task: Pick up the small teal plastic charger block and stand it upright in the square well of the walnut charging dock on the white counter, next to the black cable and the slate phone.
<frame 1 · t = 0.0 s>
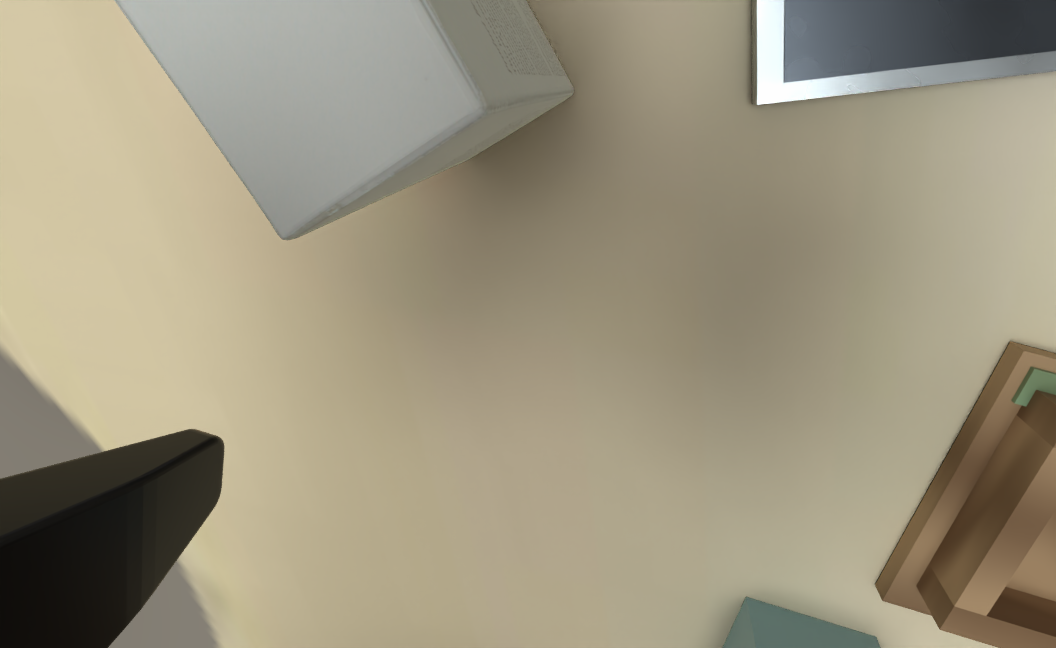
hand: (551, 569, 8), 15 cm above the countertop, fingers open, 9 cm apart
skincare box: (474, 45, 20), on the countertop
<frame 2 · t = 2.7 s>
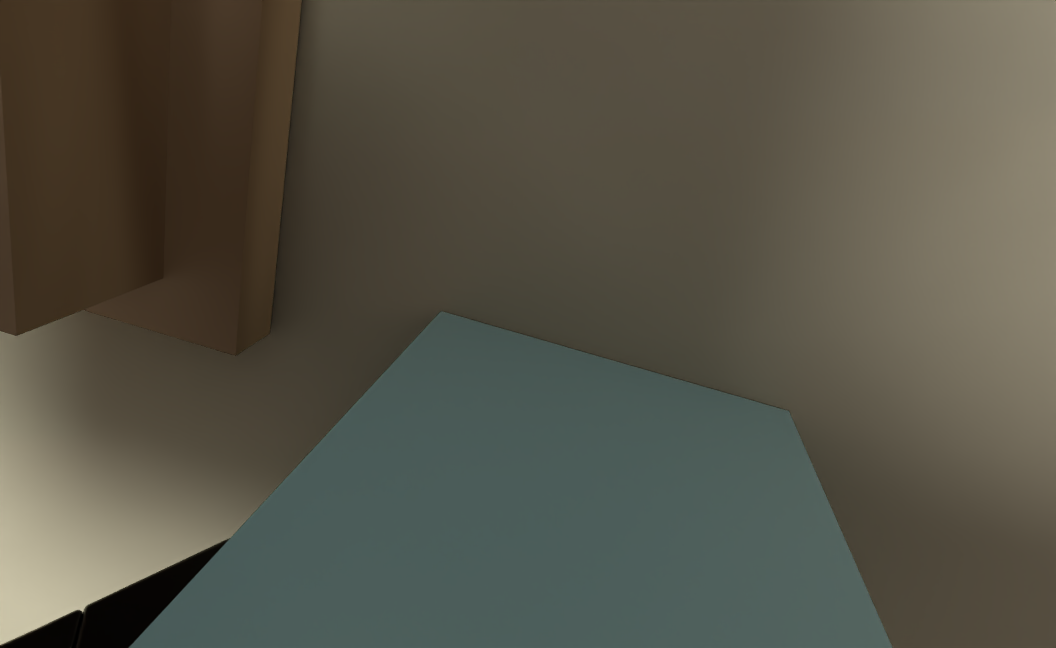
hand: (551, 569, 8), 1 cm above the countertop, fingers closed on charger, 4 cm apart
charger: (561, 518, 9), on the countertop, touching gripper
when the fingers open (3 cm above the countertop, at t = 6.8 s): charger drops 2 cm, resting on dock.
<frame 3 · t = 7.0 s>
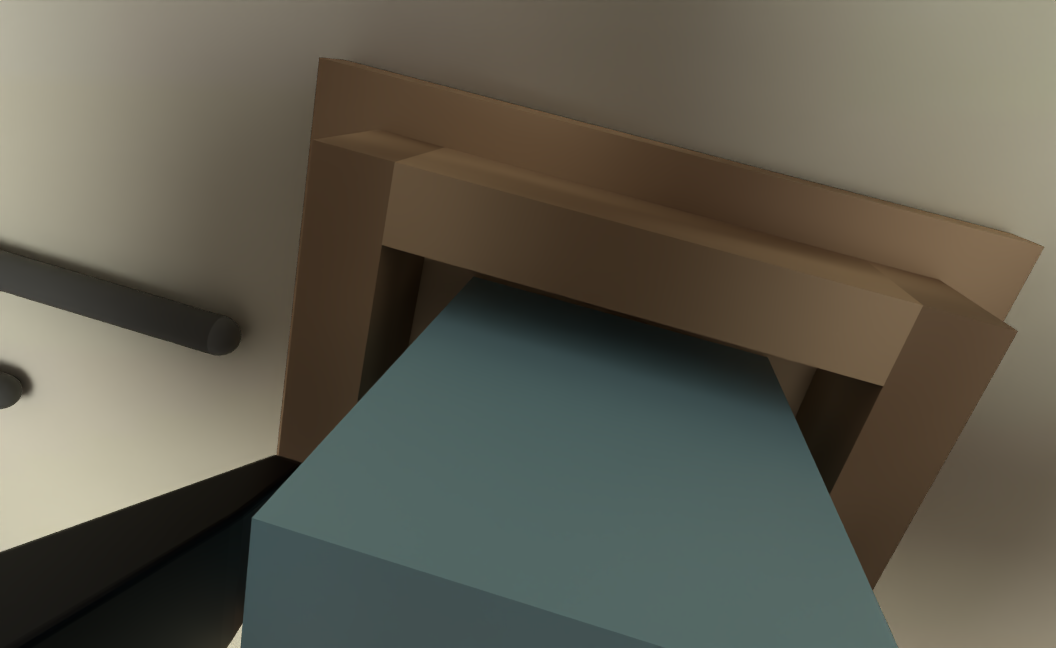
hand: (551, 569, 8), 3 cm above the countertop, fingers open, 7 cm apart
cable: (80, 284, 12), on the countertop
charger: (575, 455, 11), point 1 cm above the countertop, touching dock
dock: (576, 431, 11), on the countertop
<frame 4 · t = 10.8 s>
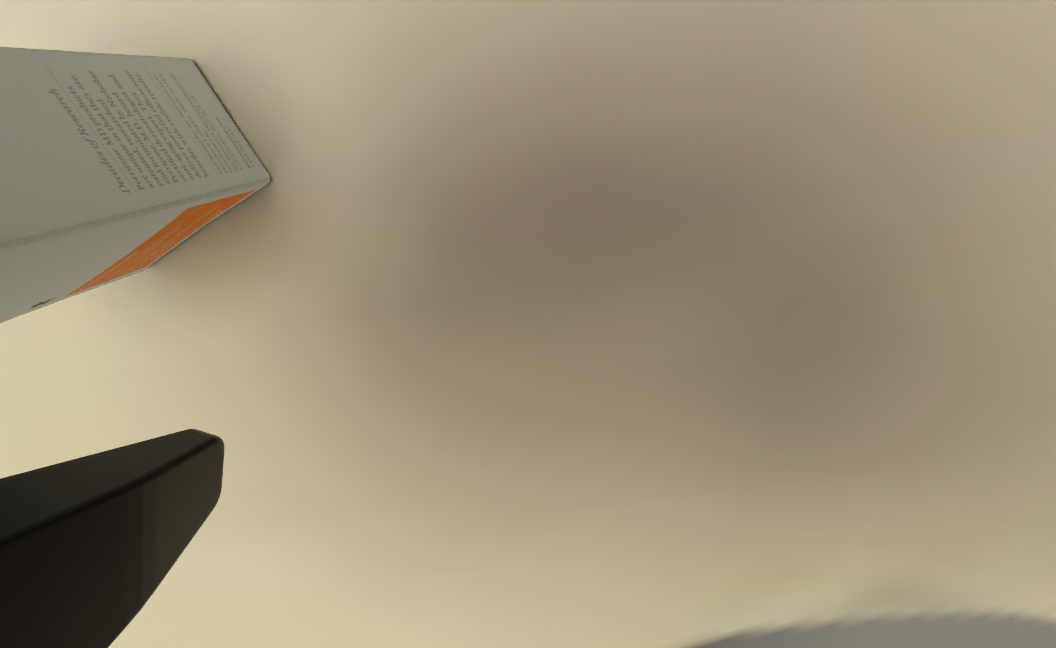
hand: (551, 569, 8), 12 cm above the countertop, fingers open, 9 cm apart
skincare box: (175, 169, 21), on the countertop
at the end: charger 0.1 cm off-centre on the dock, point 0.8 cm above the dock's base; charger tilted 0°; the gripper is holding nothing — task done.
